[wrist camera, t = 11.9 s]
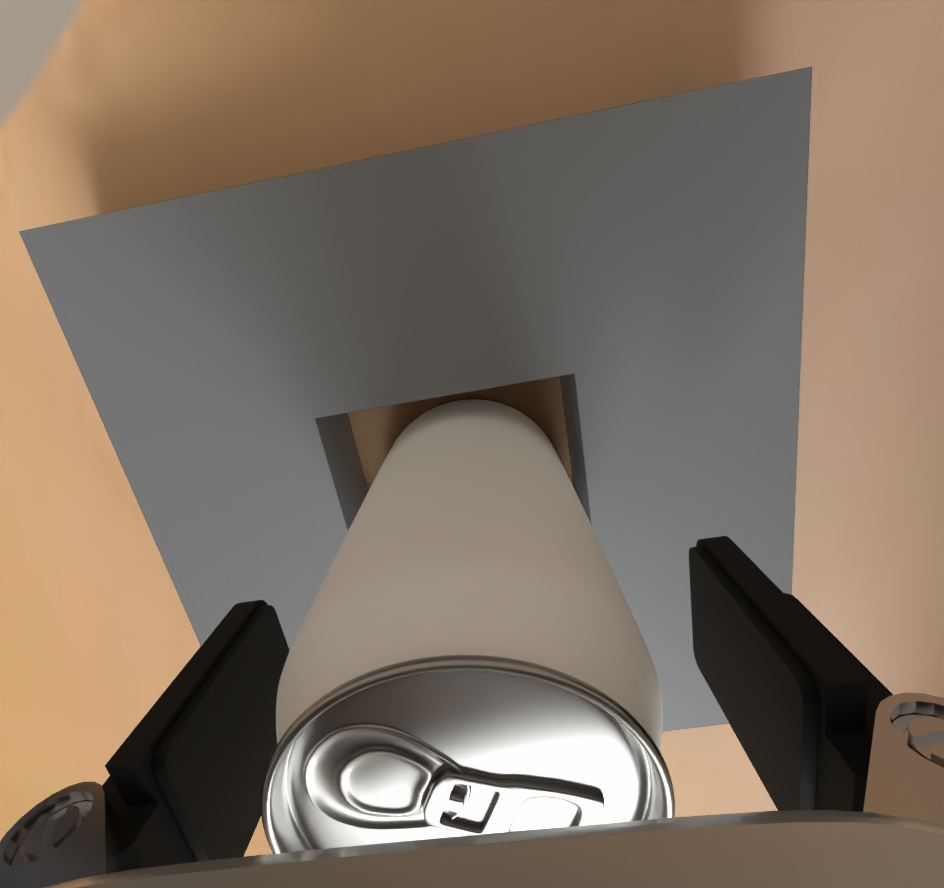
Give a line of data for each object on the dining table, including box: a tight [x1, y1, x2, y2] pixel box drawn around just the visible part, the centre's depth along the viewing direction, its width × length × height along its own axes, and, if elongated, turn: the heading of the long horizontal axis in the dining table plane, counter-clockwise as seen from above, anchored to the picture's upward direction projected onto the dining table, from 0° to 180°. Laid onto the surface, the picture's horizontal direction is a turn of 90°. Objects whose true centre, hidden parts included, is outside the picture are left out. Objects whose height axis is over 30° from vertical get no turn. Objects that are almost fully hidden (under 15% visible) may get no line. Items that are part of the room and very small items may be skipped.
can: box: [261, 399, 675, 854], centre depth 12 cm, size 6×6×12 cm
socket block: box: [19, 67, 812, 732], centre depth 16 cm, size 20×20×3 cm
